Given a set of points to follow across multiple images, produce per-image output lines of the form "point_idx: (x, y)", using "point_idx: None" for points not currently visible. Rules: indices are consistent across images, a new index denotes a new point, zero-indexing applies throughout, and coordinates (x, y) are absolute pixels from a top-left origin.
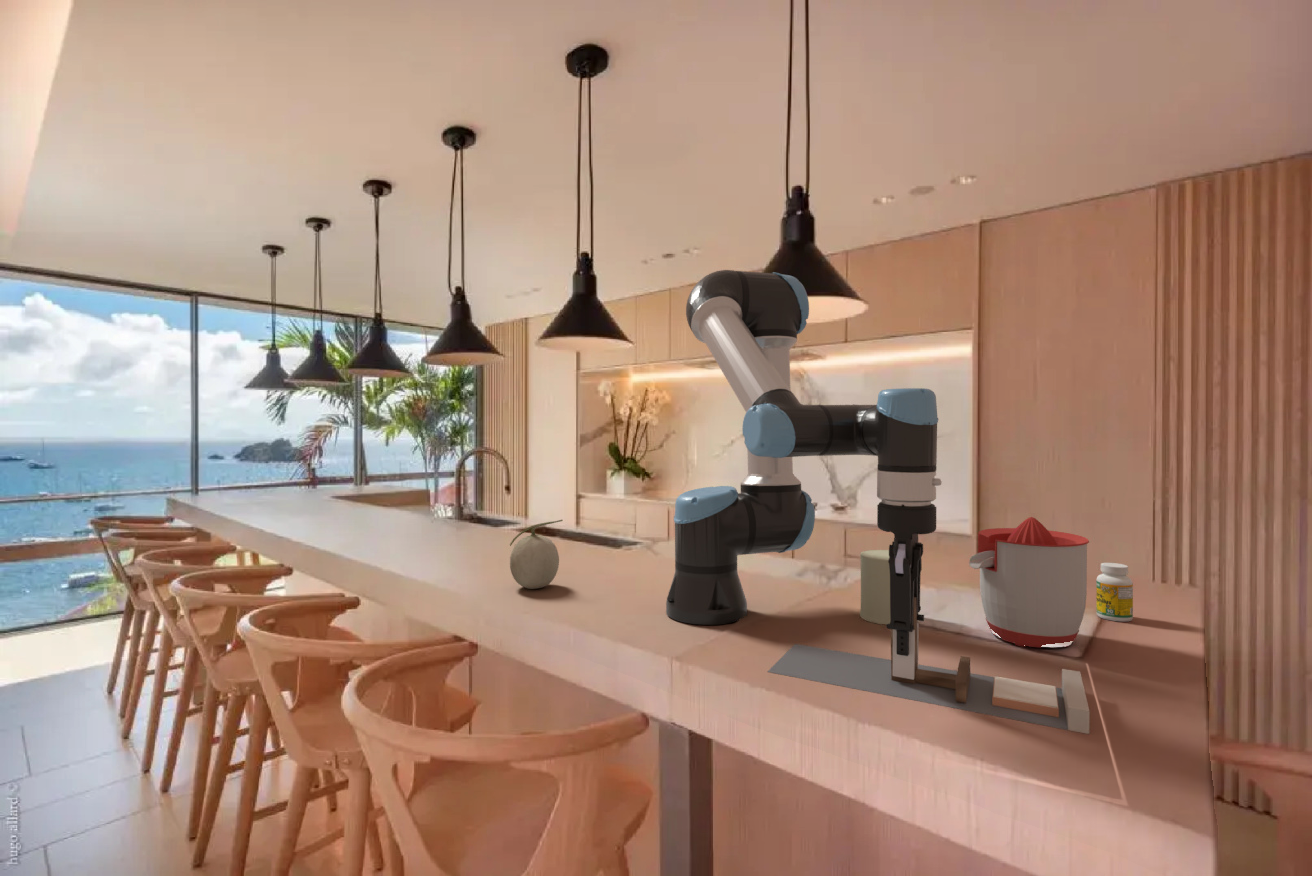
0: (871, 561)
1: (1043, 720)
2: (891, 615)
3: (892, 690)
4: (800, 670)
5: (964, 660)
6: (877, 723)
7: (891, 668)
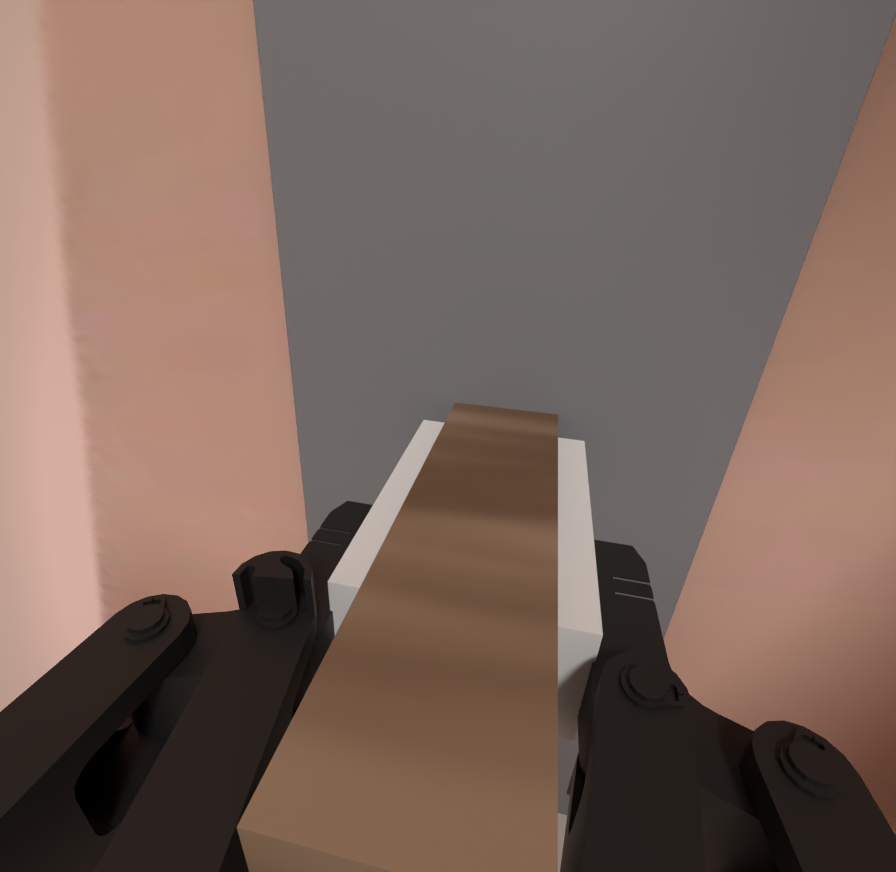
0: None
1: None
2: (25, 697)
3: (347, 408)
4: None
5: None
6: (92, 365)
7: (444, 425)
